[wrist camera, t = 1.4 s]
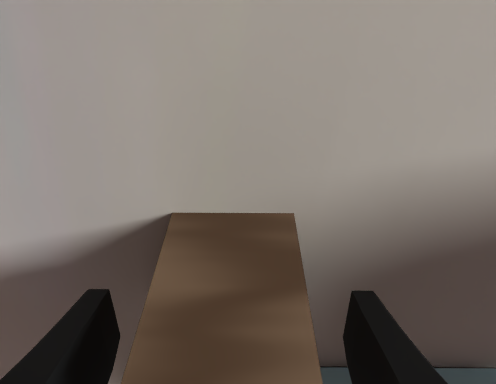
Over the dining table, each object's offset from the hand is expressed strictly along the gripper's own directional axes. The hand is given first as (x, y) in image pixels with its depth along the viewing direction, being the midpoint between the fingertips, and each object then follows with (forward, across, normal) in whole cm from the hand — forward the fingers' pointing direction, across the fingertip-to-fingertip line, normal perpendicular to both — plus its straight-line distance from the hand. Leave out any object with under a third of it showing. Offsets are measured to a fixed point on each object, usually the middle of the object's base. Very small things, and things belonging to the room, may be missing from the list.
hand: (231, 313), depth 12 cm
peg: (+2, 0, 0) cm, 2 cm away
